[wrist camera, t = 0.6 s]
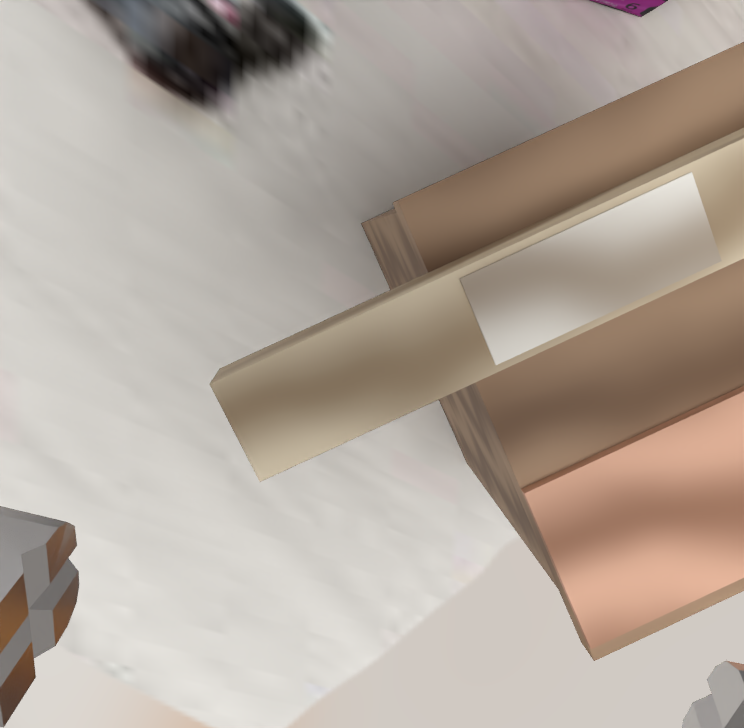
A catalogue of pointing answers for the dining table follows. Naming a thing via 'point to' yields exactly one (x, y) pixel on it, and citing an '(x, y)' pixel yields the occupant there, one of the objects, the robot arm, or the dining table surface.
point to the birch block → (487, 309)
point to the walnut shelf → (605, 374)
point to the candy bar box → (633, 5)
